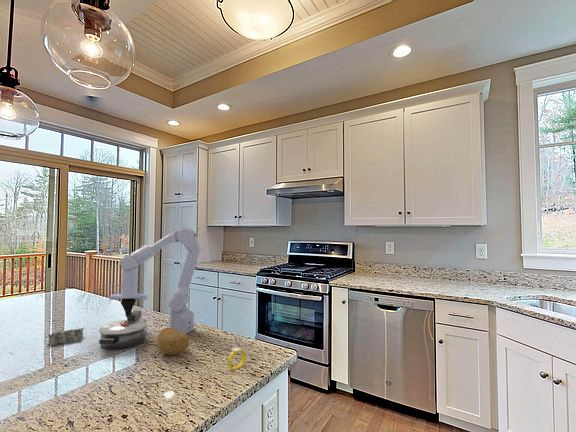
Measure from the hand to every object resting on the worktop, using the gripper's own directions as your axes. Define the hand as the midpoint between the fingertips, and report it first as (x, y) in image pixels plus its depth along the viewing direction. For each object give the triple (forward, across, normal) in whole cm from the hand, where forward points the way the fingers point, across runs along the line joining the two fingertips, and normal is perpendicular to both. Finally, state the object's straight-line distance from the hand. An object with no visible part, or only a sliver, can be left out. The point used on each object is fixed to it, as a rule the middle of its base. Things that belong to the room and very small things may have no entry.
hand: (128, 316), depth 123 cm
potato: (+7, -25, +22) cm, 34 cm away
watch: (+7, -48, +34) cm, 59 cm away
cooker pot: (+7, -3, +8) cm, 11 cm away
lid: (+1, -3, +7) cm, 8 cm away
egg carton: (+7, +20, +6) cm, 22 cm away
